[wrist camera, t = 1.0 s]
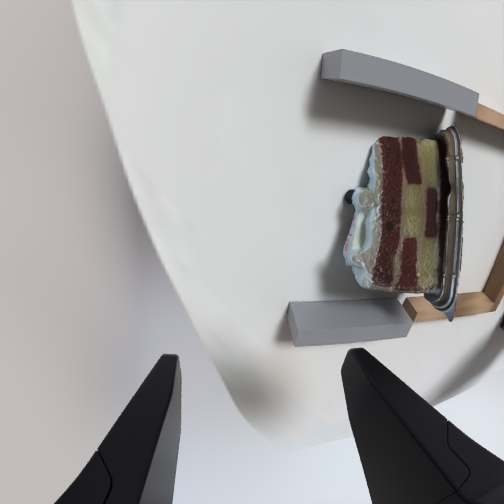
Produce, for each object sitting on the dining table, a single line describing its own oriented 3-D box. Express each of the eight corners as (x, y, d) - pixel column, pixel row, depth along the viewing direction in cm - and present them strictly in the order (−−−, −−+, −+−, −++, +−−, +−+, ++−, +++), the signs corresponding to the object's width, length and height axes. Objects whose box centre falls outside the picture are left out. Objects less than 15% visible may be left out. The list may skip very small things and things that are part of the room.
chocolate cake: (348, 98, 17) (348, 309, 13) (456, 113, 15) (484, 314, 12) (338, 176, 26) (331, 323, 22) (417, 183, 24) (421, 328, 21)
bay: (449, 88, 16) (479, 93, 13) (391, 312, 25) (406, 336, 22) (323, 53, 15) (342, 48, 12) (286, 317, 23) (294, 346, 21)
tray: (538, 135, 17) (554, 142, 16) (484, 299, 26) (495, 311, 24) (458, 98, 16) (478, 103, 14) (402, 307, 24) (413, 322, 23)
